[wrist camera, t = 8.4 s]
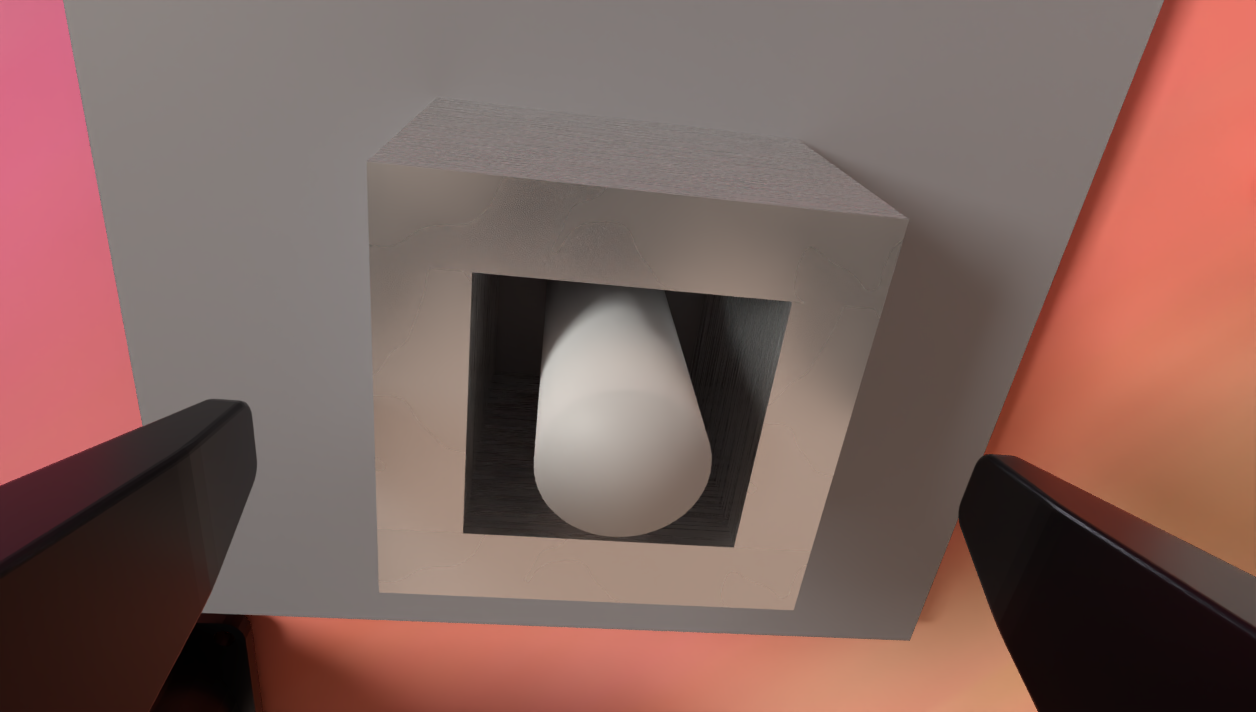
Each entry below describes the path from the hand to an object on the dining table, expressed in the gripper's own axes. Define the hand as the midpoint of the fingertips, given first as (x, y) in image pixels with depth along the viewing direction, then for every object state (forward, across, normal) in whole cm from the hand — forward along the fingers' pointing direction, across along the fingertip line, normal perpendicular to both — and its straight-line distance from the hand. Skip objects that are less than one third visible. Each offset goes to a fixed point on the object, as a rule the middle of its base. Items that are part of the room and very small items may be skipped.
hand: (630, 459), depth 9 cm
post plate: (+7, 0, 0) cm, 7 cm away
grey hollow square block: (+6, 0, 0) cm, 6 cm away
